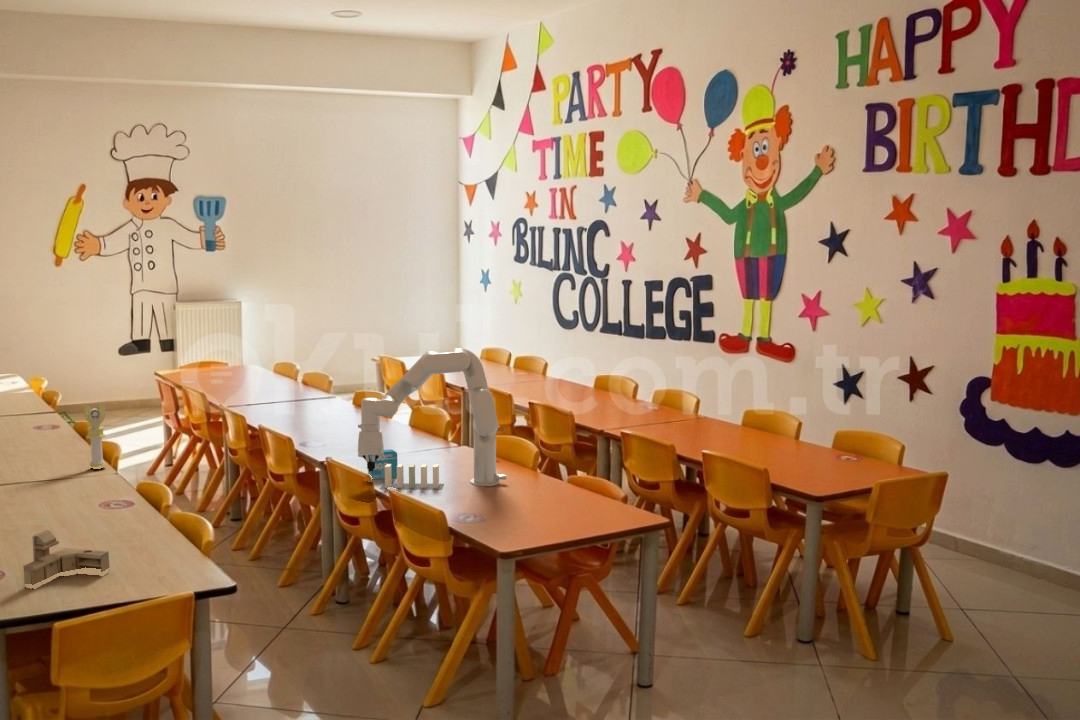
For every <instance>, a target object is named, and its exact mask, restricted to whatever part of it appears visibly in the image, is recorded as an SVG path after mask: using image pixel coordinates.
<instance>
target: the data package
mask: <svg viewBox="0 0 1080 720" xmlns="http://www.w3.org/2000/svg"><path fill="white" fill-rule="evenodd" d="M383 453H384V456H383V457H380V458H377V459H376V460H375V469H374V470H373V471H369V469H367V475H368V474H370V475H371V476H372V478H373V479H372V480H381V479H385V466H386V464H391V469H392V478H397V466H398V452H397V451H395V450H394V449H383ZM372 456H373V455H370V459H371V460H372Z"/></svg>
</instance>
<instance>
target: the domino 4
mask: <svg viewBox="0 0 1080 720" xmlns="http://www.w3.org/2000/svg"><path fill="white" fill-rule="evenodd" d="M420 484H421V488H426V487H427V484H428V464H426V463H425V464H424V463H422V464H421V466H420Z"/></svg>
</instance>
